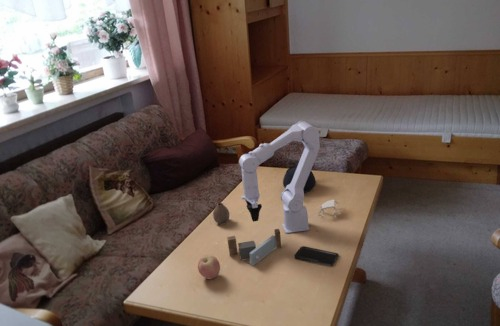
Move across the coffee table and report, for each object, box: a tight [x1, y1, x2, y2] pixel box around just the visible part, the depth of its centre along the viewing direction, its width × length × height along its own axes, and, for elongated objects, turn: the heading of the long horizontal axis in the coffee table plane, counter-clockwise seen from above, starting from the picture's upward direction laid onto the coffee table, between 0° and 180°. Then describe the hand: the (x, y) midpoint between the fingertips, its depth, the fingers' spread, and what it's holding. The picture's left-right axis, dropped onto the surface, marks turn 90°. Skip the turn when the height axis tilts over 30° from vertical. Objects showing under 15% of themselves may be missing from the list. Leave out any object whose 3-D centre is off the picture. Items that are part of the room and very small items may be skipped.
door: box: [249, 234, 277, 266], centre depth 170 cm, size 14×2×5 cm, turn 141°
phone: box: [293, 245, 340, 268], centre depth 167 cm, size 8×1×15 cm
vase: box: [212, 202, 230, 225], centre depth 196 cm, size 7×7×9 cm
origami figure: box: [317, 199, 339, 219], centre depth 195 cm, size 12×8×5 cm
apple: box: [197, 254, 221, 280], centre depth 161 cm, size 8×8×8 cm
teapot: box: [282, 164, 316, 194], centre depth 220 cm, size 25×16×12 cm, turn 157°
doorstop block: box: [237, 240, 257, 261], centre depth 171 cm, size 6×4×5 cm, turn 99°
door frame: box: [226, 228, 282, 257], centre depth 174 cm, size 20×2×7 cm, turn 99°
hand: (253, 216), depth 181 cm, fingers open, 7 cm apart
